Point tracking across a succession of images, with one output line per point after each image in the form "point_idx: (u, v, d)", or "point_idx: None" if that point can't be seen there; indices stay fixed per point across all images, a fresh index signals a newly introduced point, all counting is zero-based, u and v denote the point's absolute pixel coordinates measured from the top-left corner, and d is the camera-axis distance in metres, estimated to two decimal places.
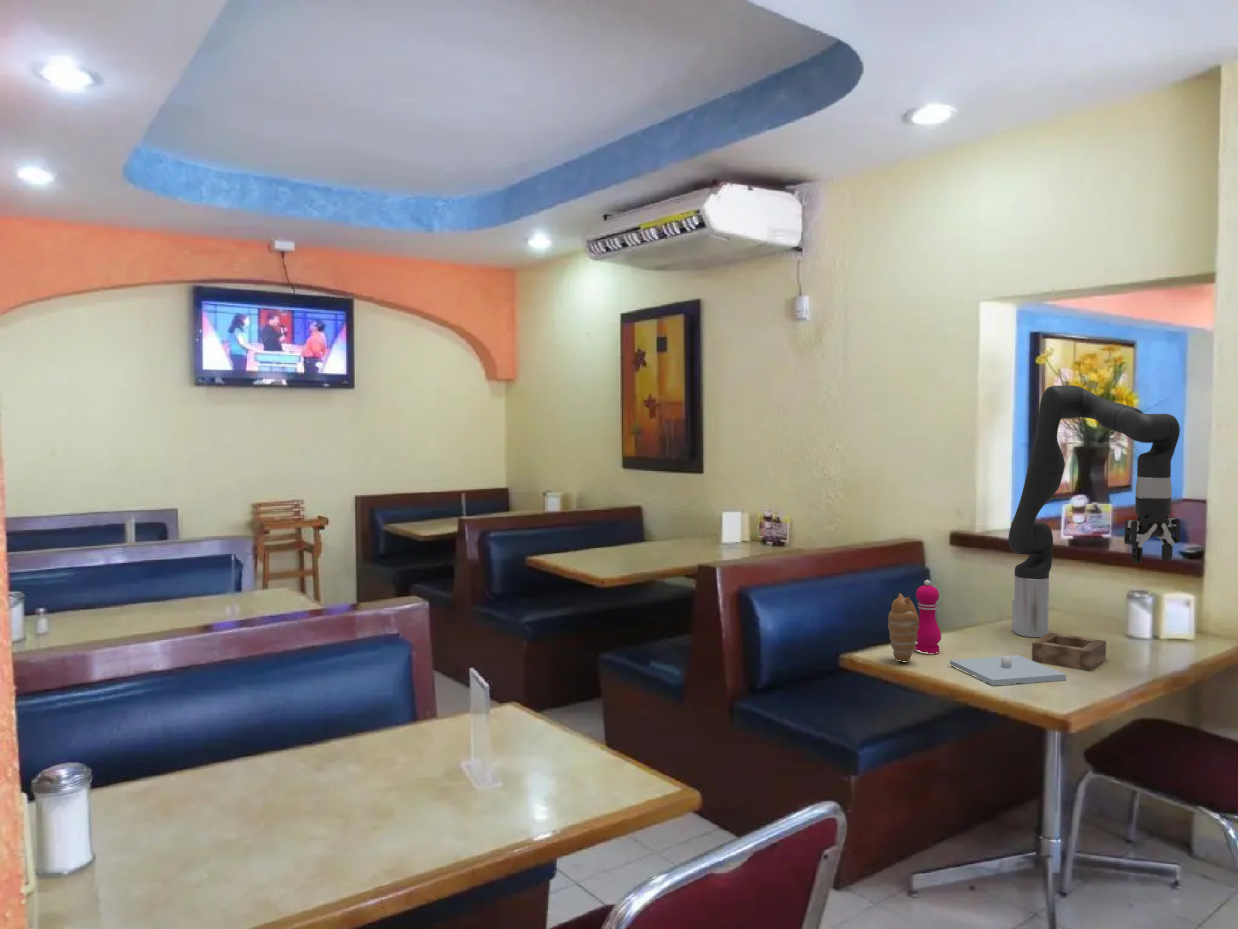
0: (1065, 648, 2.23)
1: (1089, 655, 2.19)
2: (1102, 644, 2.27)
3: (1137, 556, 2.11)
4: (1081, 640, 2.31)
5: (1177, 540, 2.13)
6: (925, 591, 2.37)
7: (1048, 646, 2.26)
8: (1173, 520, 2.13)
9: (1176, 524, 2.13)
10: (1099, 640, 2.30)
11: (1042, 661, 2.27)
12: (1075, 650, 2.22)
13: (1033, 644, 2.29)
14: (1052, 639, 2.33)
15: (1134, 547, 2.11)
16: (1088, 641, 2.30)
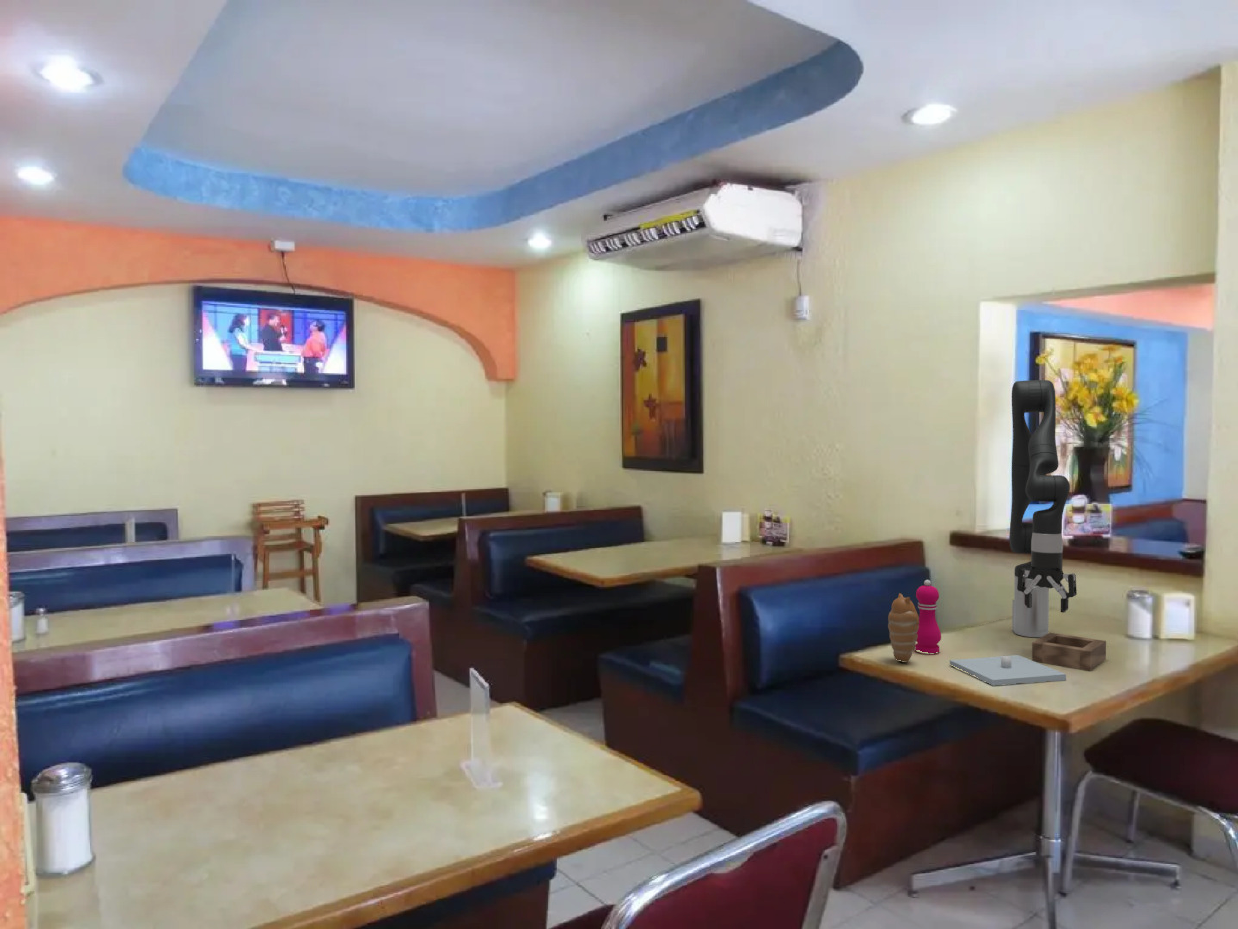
0: (1065, 648, 2.23)
1: (1089, 655, 2.19)
2: (1102, 644, 2.27)
3: None
4: (1081, 640, 2.31)
5: None
6: (925, 591, 2.37)
7: (1048, 646, 2.26)
8: None
9: None
10: (1099, 640, 2.30)
11: (1042, 661, 2.27)
12: (1075, 650, 2.22)
13: (1033, 644, 2.29)
14: (1052, 639, 2.33)
15: (1068, 598, 2.29)
16: (1088, 641, 2.30)
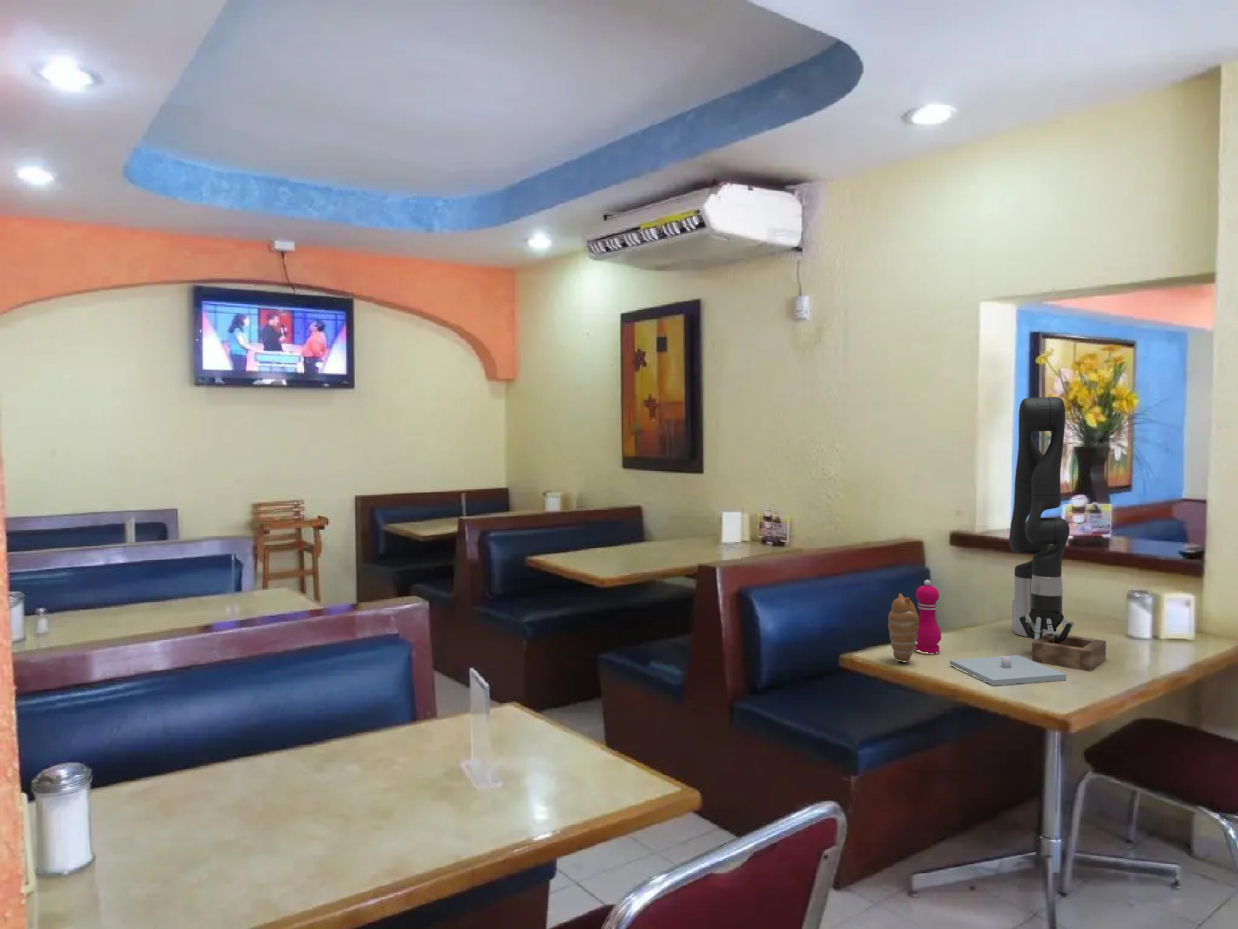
0: (1065, 648, 2.23)
1: (1089, 655, 2.19)
2: (1102, 644, 2.27)
3: None
4: (1081, 640, 2.31)
5: None
6: (925, 591, 2.37)
7: (1048, 646, 2.26)
8: None
9: None
10: (1099, 640, 2.30)
11: (1042, 661, 2.27)
12: (1075, 650, 2.22)
13: (1033, 644, 2.29)
14: None
15: (1056, 643, 2.31)
16: (1088, 641, 2.30)
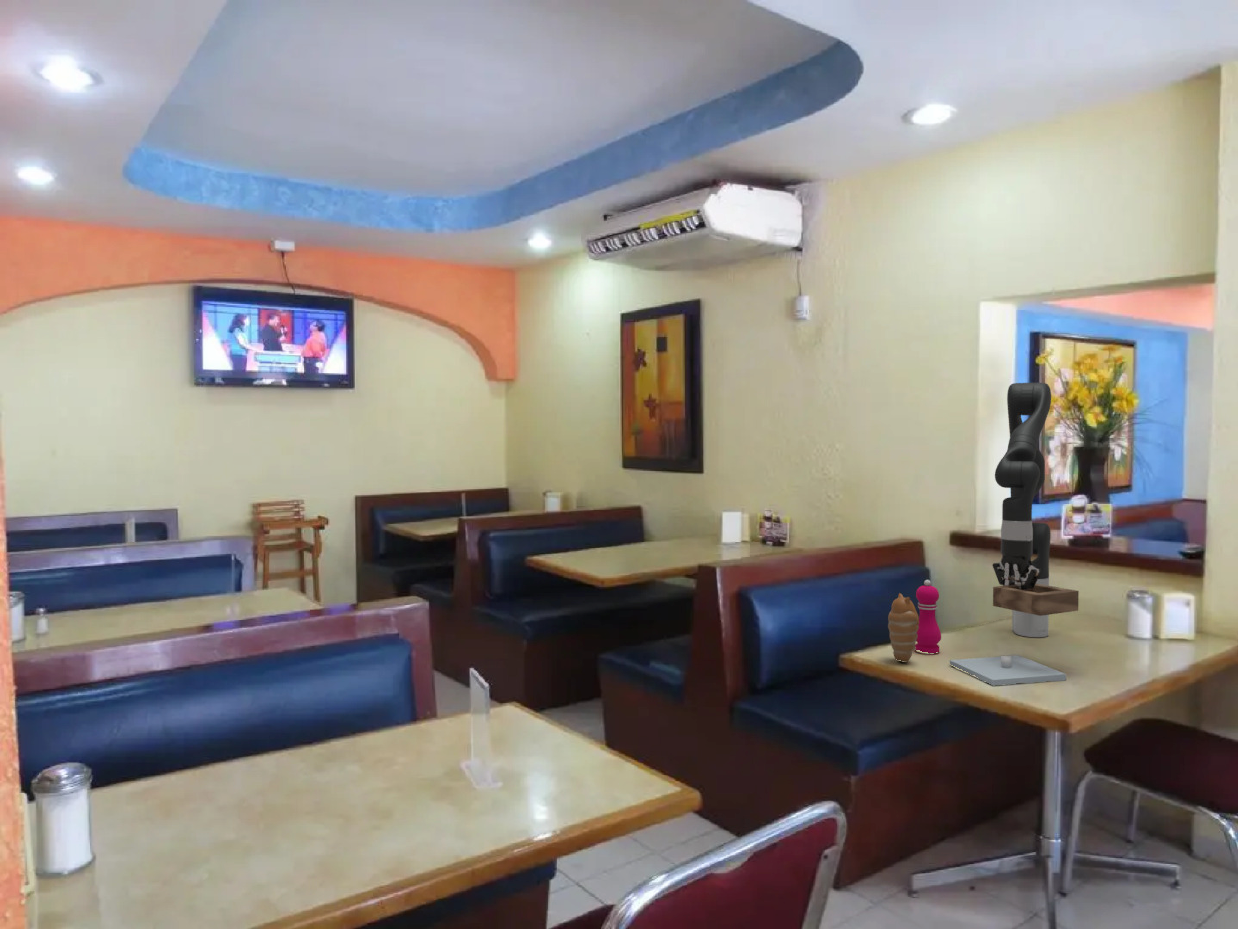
0: (1020, 592, 2.18)
1: (1039, 599, 2.12)
2: (1069, 593, 2.17)
3: None
4: (1053, 589, 2.22)
5: None
6: (925, 591, 2.37)
7: (1006, 590, 2.21)
8: None
9: None
10: (1071, 590, 2.19)
11: (1001, 606, 2.23)
12: (1028, 594, 2.15)
13: (994, 588, 2.25)
14: None
15: None
16: (1059, 590, 2.21)
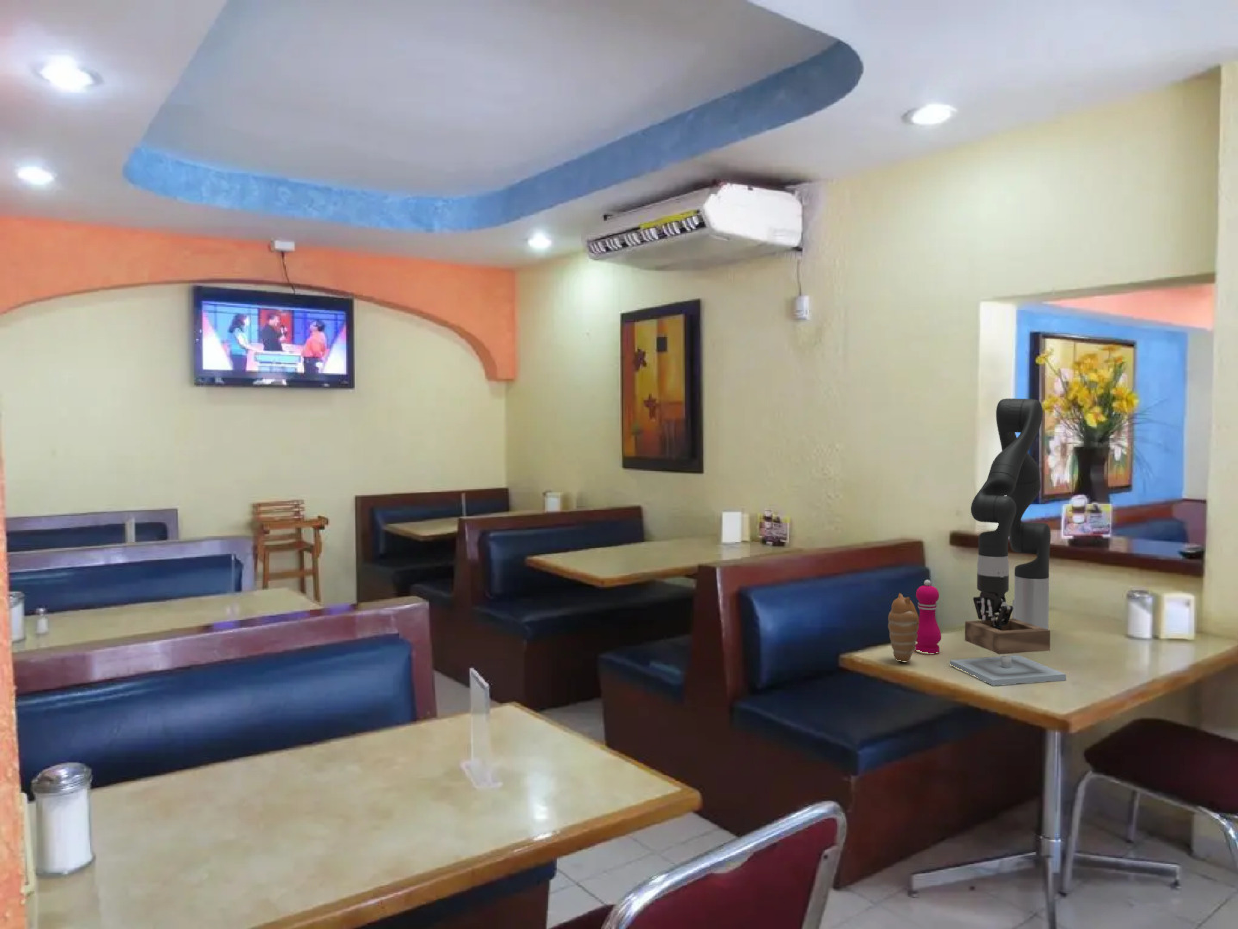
0: (984, 629, 2.16)
1: (998, 637, 2.10)
2: (1038, 632, 2.12)
3: None
4: (1026, 627, 2.17)
5: None
6: (925, 591, 2.37)
7: (974, 626, 2.20)
8: None
9: None
10: (1044, 629, 2.14)
11: (970, 641, 2.21)
12: (990, 631, 2.13)
13: (965, 623, 2.23)
14: None
15: (999, 627, 2.21)
16: (1031, 628, 2.16)
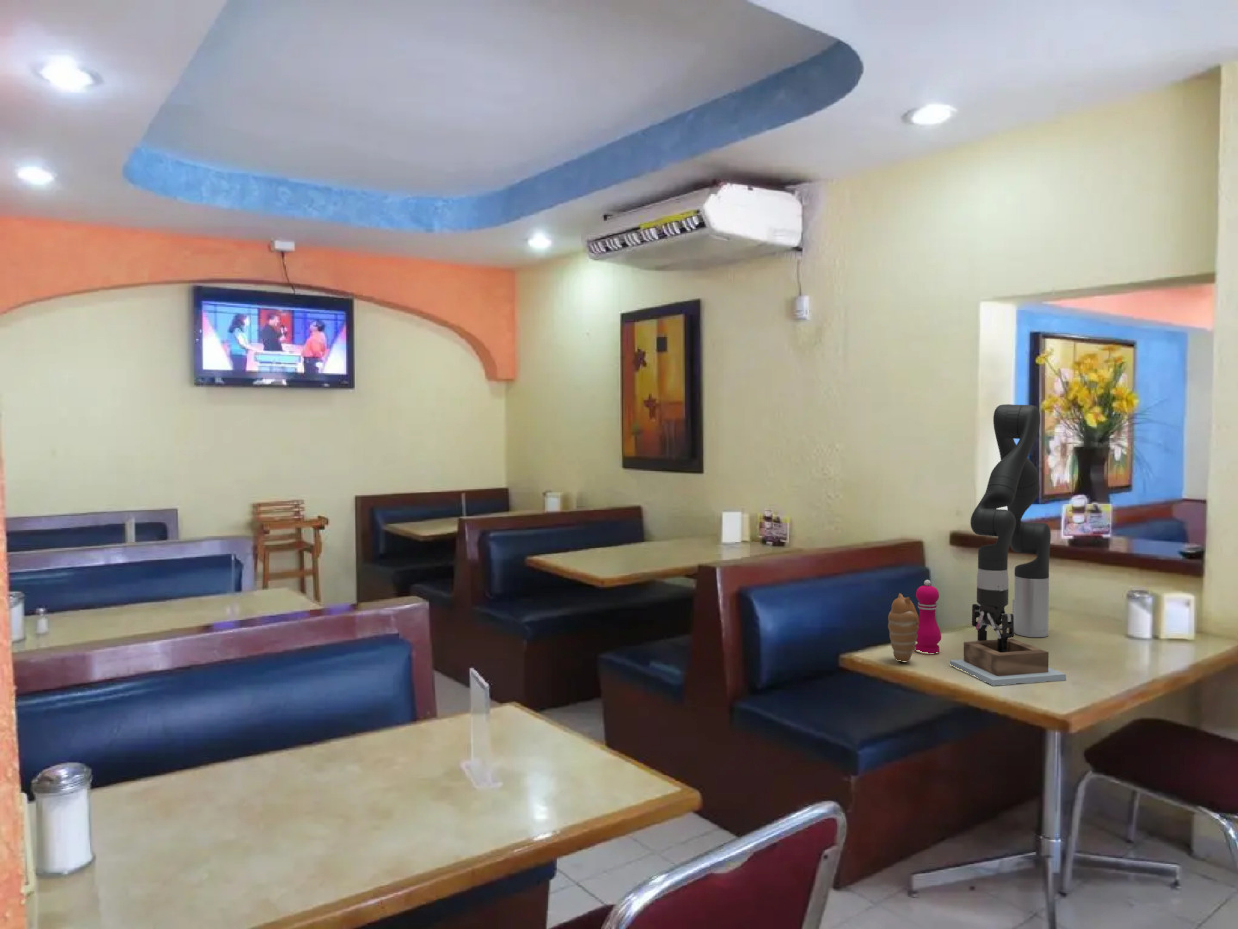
0: (983, 650, 2.17)
1: (997, 660, 2.11)
2: (1036, 654, 2.13)
3: None
4: (1025, 648, 2.18)
5: None
6: (925, 591, 2.37)
7: (973, 647, 2.21)
8: None
9: None
10: (1042, 650, 2.15)
11: (969, 662, 2.22)
12: (988, 653, 2.14)
13: (964, 644, 2.24)
14: None
15: (1005, 639, 2.19)
16: (1030, 650, 2.17)
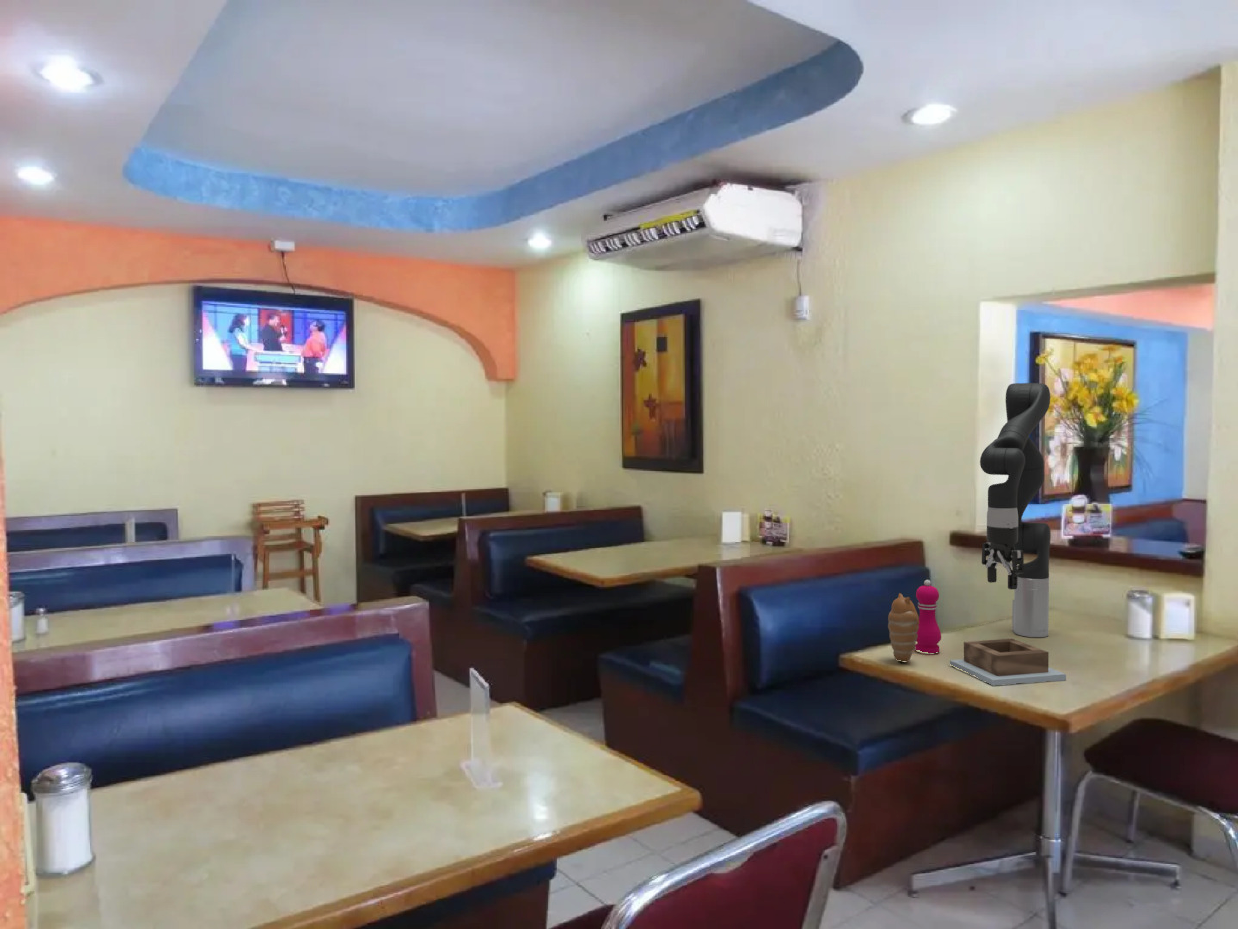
0: (983, 650, 2.17)
1: (997, 660, 2.11)
2: (1036, 654, 2.13)
3: None
4: (1025, 648, 2.18)
5: None
6: (925, 591, 2.37)
7: (973, 647, 2.21)
8: None
9: None
10: (1042, 650, 2.15)
11: (969, 662, 2.22)
12: (988, 653, 2.14)
13: (964, 644, 2.24)
14: (998, 643, 2.24)
15: (1015, 575, 2.22)
16: (1030, 650, 2.17)
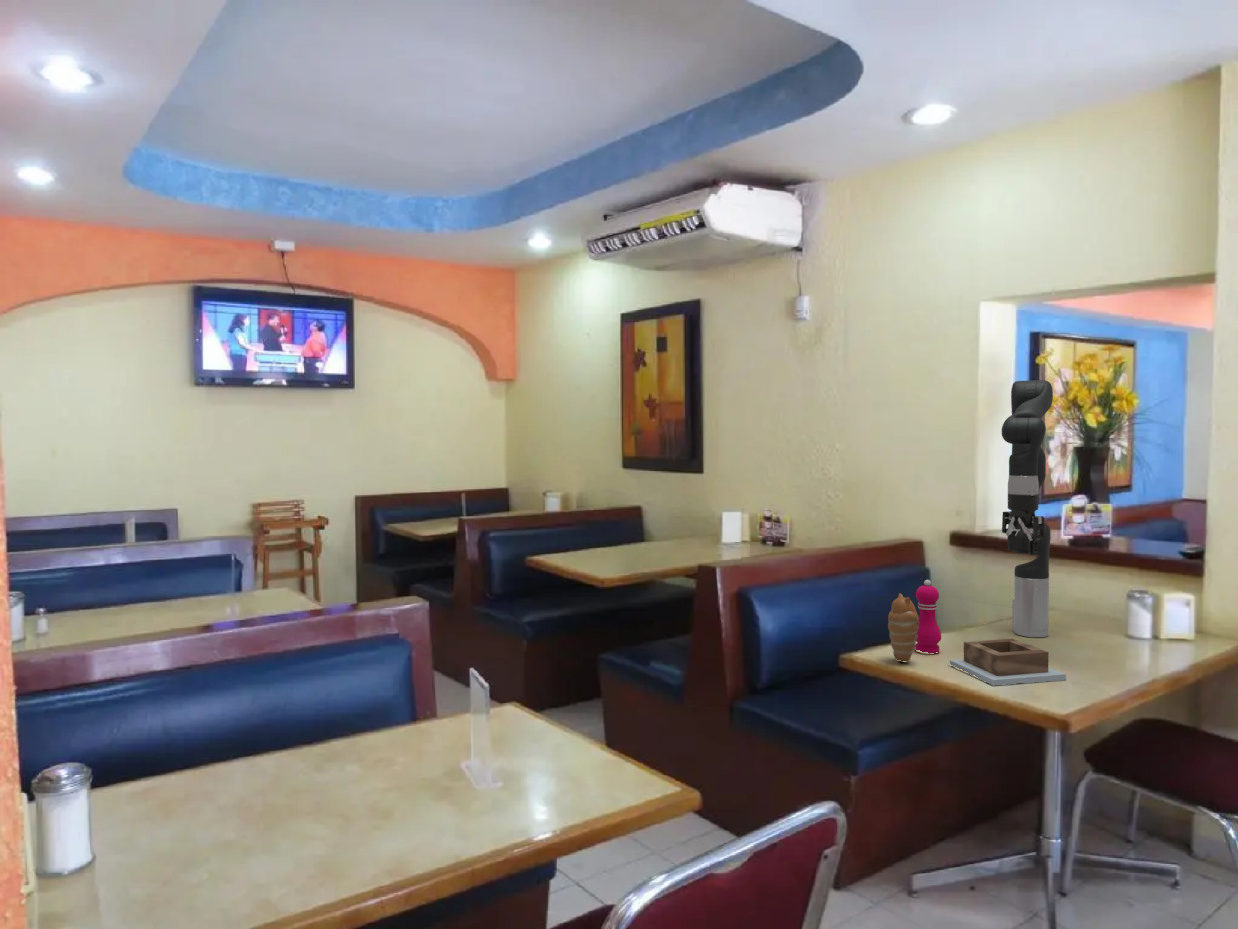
0: (983, 650, 2.17)
1: (997, 660, 2.11)
2: (1036, 654, 2.13)
3: None
4: (1025, 648, 2.18)
5: None
6: (925, 591, 2.37)
7: (973, 647, 2.21)
8: None
9: None
10: (1042, 650, 2.15)
11: (969, 662, 2.22)
12: (988, 653, 2.14)
13: (964, 644, 2.24)
14: (998, 643, 2.24)
15: (1036, 541, 2.28)
16: (1030, 650, 2.17)
